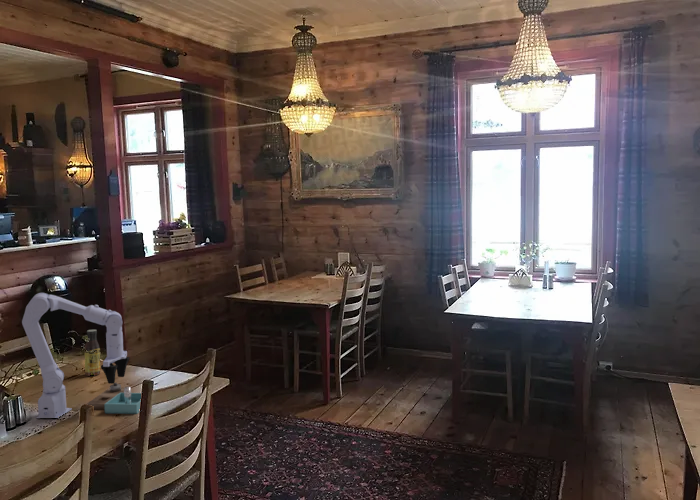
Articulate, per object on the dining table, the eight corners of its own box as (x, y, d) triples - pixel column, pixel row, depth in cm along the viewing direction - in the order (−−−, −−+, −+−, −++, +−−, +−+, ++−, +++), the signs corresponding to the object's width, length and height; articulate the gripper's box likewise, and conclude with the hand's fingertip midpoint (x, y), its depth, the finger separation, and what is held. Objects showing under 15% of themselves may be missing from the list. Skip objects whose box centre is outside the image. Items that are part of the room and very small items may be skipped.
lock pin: (129, 407, 211) (128, 388, 210) (123, 407, 211) (122, 388, 210) (132, 404, 213) (132, 386, 212) (126, 404, 213) (125, 386, 213)
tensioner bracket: (107, 409, 210) (106, 396, 210) (86, 408, 211) (86, 395, 211) (129, 392, 228) (129, 380, 228) (110, 392, 229) (109, 380, 228)
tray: (136, 413, 206) (136, 404, 205) (104, 413, 206) (104, 404, 206) (150, 401, 217) (150, 393, 217) (120, 401, 218) (120, 392, 218)
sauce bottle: (90, 377, 248) (88, 332, 246) (82, 375, 251) (79, 331, 249) (104, 373, 253) (101, 329, 251) (95, 371, 256) (93, 328, 255)
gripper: (115, 349, 205) (117, 386, 206) (134, 339, 220) (135, 374, 221) (96, 349, 206) (98, 386, 207) (116, 339, 220) (117, 373, 221)
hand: (116, 379), depth 214 cm, fingers open, 7 cm apart
